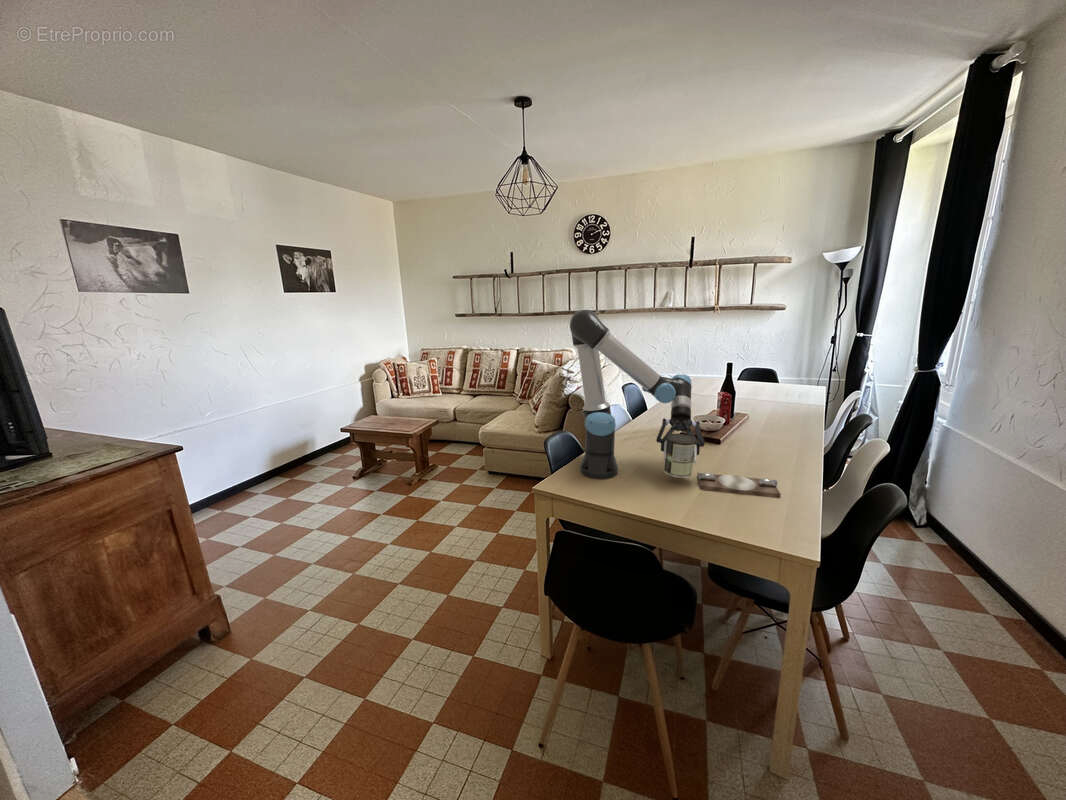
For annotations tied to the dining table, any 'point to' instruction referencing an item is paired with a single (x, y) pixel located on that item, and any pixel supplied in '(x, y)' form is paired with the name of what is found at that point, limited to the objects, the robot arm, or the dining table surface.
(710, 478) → the shaft stubs
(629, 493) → the dining table surface
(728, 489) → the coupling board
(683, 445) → the coffee can
